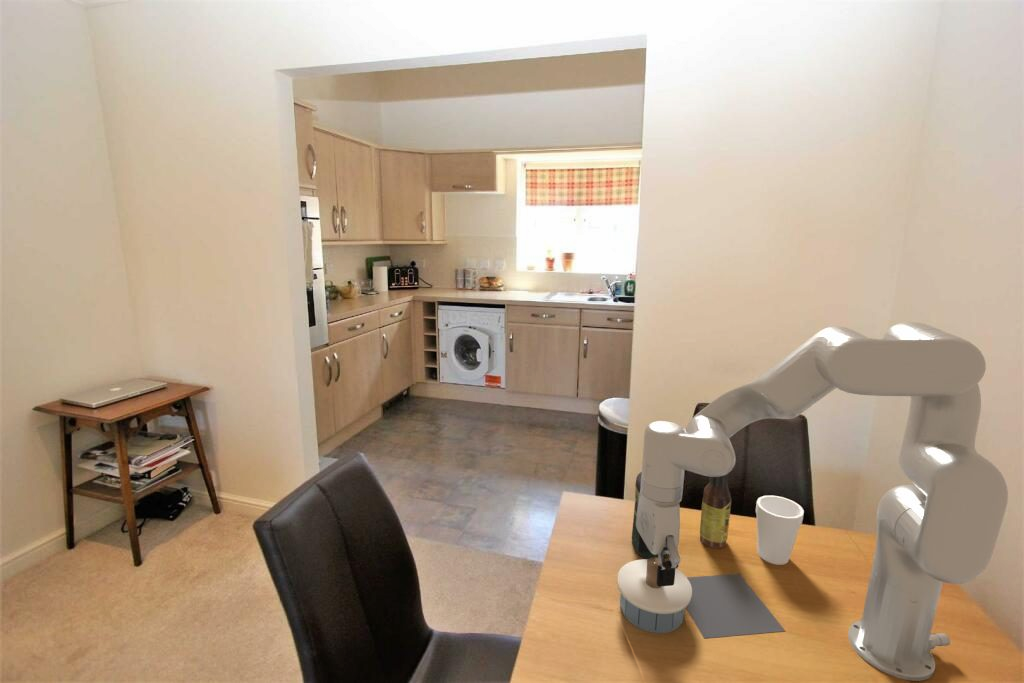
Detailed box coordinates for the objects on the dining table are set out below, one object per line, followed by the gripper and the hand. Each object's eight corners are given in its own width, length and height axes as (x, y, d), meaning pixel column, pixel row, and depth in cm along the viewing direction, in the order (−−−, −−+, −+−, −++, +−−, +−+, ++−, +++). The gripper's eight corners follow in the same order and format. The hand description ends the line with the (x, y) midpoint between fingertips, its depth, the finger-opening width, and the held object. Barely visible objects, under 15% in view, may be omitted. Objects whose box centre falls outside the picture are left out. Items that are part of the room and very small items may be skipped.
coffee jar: (673, 561, 116) (680, 487, 112) (639, 562, 116) (644, 488, 111) (659, 535, 125) (665, 466, 121) (627, 536, 125) (632, 467, 121)
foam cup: (802, 573, 112) (810, 520, 109) (757, 568, 114) (764, 516, 111) (787, 546, 121) (794, 497, 118) (745, 542, 123) (751, 493, 120)
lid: (673, 561, 108) (675, 538, 106) (704, 610, 94) (707, 585, 93) (608, 566, 106) (609, 542, 105) (631, 617, 92) (633, 591, 91)
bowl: (668, 587, 108) (670, 564, 106) (694, 631, 96) (696, 607, 95) (613, 591, 106) (614, 568, 105) (632, 637, 95) (634, 612, 94)
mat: (739, 575, 112) (739, 573, 111) (785, 632, 96) (785, 630, 96) (669, 580, 110) (669, 578, 110) (704, 639, 94) (704, 638, 94)
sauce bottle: (729, 551, 119) (738, 474, 115) (700, 548, 121) (708, 471, 116) (723, 535, 126) (732, 461, 121) (696, 531, 127) (704, 458, 122)
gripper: (626, 466, 103) (622, 541, 107) (660, 515, 86) (653, 601, 90) (662, 464, 104) (656, 539, 108) (702, 512, 87) (693, 598, 91)
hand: (655, 567), depth 99 cm, fingers open, 9 cm apart
